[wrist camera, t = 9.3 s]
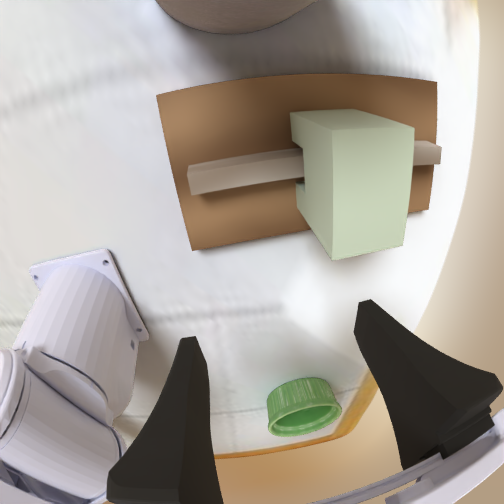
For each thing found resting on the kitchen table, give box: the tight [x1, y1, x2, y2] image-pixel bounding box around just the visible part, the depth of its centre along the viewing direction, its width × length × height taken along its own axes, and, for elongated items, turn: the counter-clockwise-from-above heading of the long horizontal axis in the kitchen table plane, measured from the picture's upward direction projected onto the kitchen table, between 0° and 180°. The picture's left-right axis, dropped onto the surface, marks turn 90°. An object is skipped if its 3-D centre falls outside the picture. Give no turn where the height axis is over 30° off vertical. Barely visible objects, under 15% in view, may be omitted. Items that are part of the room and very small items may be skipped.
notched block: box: [290, 109, 415, 261], centre depth 14 cm, size 6×4×6 cm, turn 7°
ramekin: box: [267, 378, 342, 437], centre depth 32 cm, size 9×9×4 cm
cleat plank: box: [156, 73, 442, 251], centre depth 16 cm, size 10×18×3 cm, turn 97°
